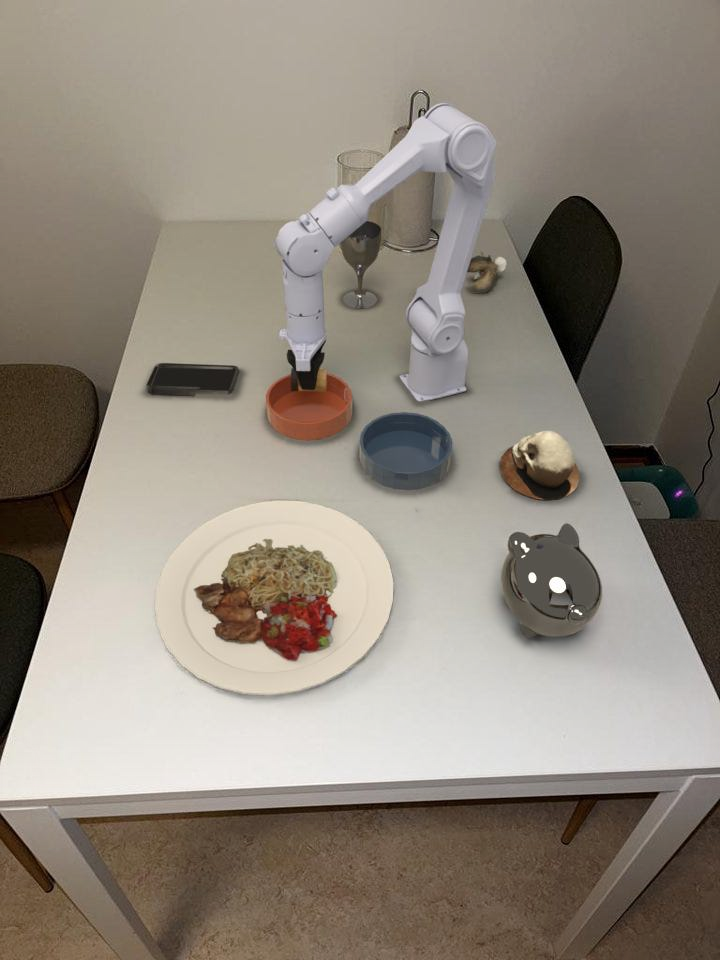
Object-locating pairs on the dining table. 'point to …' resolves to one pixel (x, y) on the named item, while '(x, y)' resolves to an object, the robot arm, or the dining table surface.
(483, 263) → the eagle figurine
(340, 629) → the plated food
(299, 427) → the terracotta bowl
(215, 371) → the phone
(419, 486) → the slate bowl
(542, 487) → the skull
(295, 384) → the tan block dark cap
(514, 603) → the piggy bank
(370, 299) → the wine glass
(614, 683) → the dining table surface
